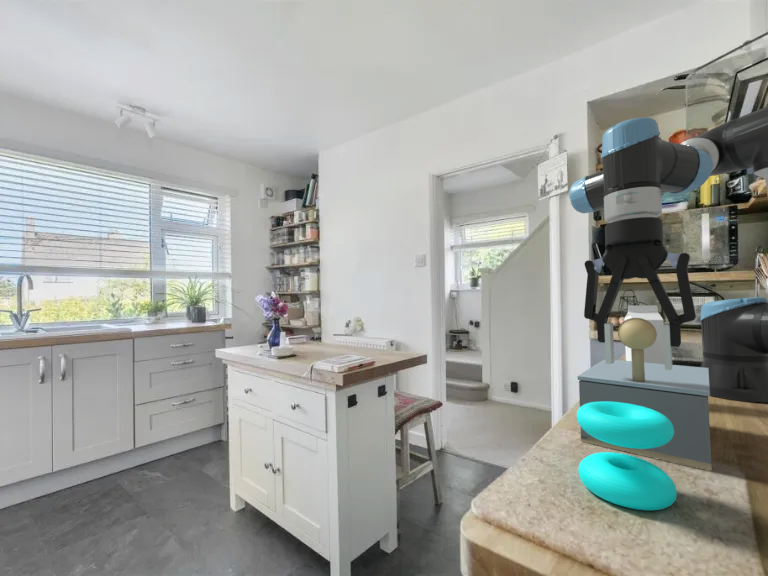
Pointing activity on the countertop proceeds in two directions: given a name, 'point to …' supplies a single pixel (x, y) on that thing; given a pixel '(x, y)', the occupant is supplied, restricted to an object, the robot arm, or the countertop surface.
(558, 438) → the countertop surface
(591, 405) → the donuts
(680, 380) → the flap
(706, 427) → the carton
